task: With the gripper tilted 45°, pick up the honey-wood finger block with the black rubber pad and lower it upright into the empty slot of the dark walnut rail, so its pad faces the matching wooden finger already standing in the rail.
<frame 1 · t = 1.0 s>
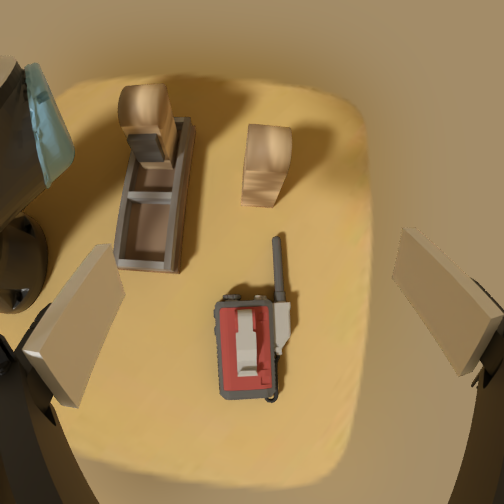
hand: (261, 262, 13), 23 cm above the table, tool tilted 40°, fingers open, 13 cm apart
rail: (157, 194, 37), on the table
walkie-talkie: (251, 321, 35), on the table
finger block: (257, 188, 38), on the table
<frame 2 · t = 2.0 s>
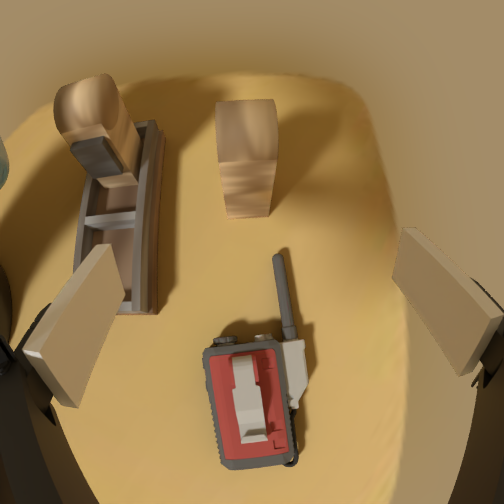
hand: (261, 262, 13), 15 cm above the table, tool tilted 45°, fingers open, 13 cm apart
rail: (123, 218, 29), on the table
walkie-talkie: (255, 367, 26), on the table
finger block: (246, 195, 30), on the table
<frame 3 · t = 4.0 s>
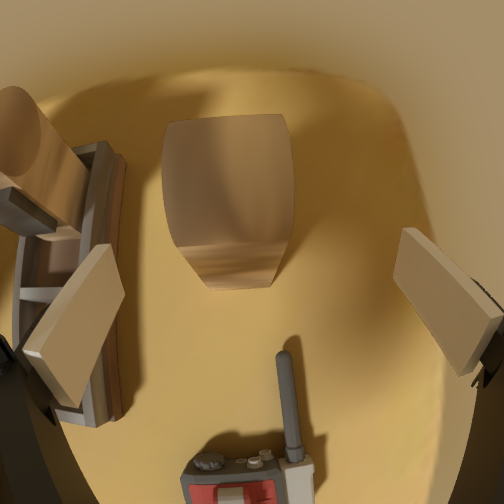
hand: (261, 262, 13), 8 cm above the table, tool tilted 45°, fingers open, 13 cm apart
rail: (72, 282, 20), on the table
walkie-talkie: (249, 481, 17), on the table
finger block: (237, 253, 21), on the table
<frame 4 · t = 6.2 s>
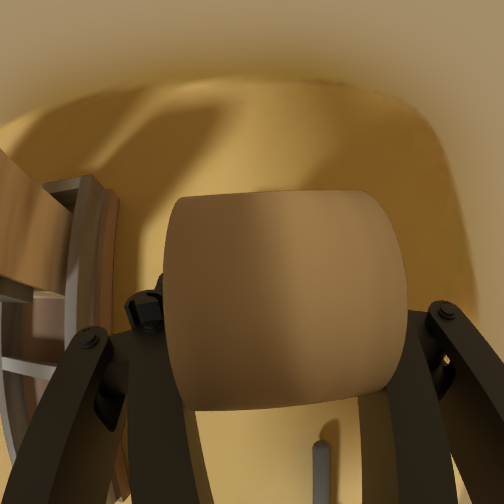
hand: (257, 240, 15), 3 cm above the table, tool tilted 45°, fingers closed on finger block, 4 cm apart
rail: (61, 346, 16), on the table
finger block: (260, 323, 17), on the table, touching gripper
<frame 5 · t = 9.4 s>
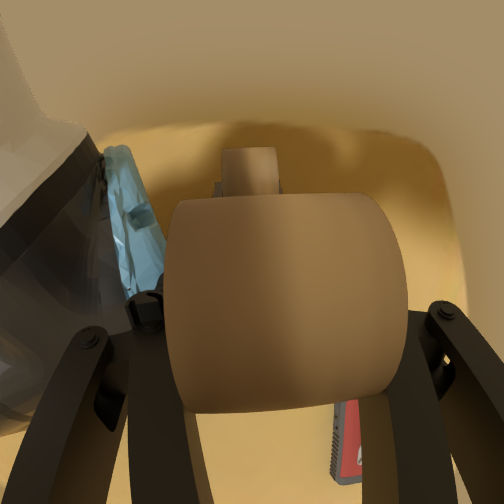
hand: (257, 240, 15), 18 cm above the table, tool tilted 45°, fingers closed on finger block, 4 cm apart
rail: (251, 278, 32), on the table
walkie-talkie: (367, 405, 29), on the table
finger block: (260, 324, 17), point 15 cm above the table, touching gripper
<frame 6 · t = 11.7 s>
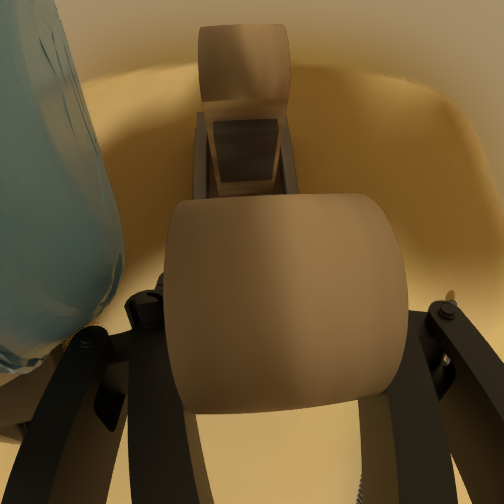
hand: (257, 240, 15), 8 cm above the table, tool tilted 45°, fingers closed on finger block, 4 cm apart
rail: (248, 239, 23), on the table
finger block: (260, 325, 17), point 4 cm above the table, touching gripper
when the fingers open (6 cm above the table, at t = 12.6 s): finger block stays where it is, resting on rail.
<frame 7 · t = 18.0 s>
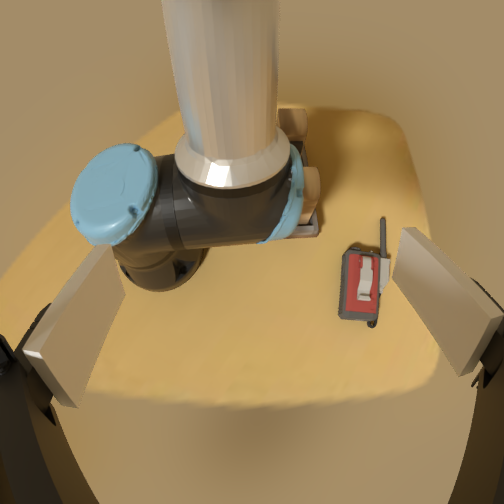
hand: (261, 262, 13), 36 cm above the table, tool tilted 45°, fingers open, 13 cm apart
rail: (287, 186, 54), on the table
walkie-talkie: (362, 270, 50), on the table
finger block: (292, 213, 51), point 1 cm above the table, touching rail
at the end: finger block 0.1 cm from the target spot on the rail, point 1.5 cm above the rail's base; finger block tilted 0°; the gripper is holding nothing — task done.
